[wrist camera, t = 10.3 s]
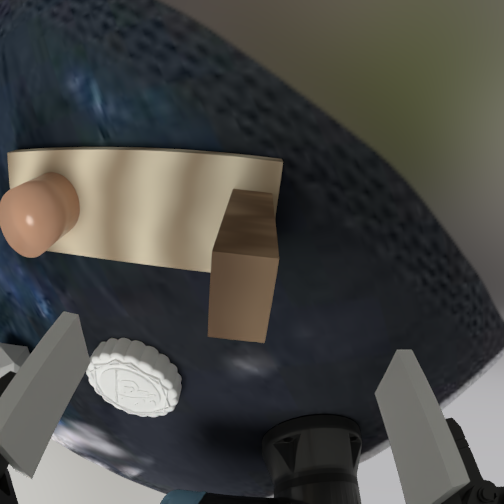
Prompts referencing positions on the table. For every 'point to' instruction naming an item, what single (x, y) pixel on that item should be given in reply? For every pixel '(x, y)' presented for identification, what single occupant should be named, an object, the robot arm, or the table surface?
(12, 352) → the die
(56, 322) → the robot arm
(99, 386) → the mooncake
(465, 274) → the table surface
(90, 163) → the strip
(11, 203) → the pink glossy domed part
